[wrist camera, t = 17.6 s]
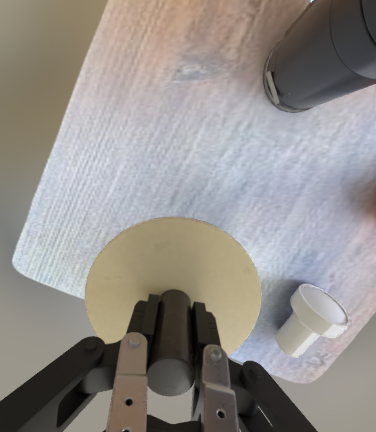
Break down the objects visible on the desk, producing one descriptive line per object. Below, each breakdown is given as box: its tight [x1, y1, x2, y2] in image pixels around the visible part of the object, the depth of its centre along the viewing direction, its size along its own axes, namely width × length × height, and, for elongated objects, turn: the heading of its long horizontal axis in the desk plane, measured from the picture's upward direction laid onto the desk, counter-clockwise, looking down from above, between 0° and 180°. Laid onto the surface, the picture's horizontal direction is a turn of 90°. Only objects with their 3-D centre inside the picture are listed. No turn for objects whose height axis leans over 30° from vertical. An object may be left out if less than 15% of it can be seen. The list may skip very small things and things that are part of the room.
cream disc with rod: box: [85, 217, 262, 396], centre depth 14 cm, size 12×12×7 cm
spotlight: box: [275, 284, 351, 358], centre depth 37 cm, size 8×11×8 cm
